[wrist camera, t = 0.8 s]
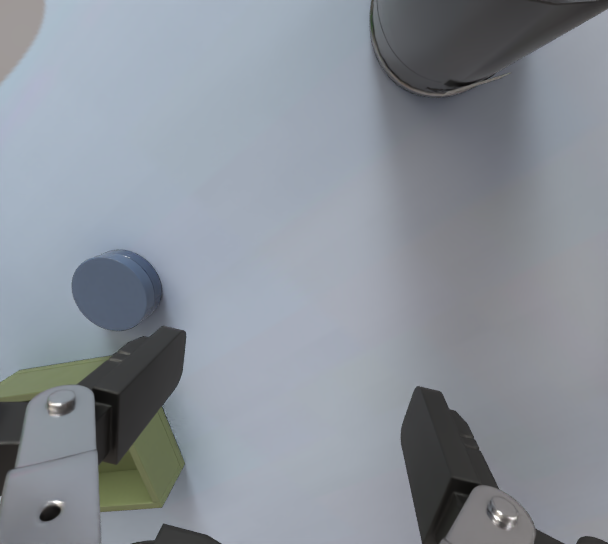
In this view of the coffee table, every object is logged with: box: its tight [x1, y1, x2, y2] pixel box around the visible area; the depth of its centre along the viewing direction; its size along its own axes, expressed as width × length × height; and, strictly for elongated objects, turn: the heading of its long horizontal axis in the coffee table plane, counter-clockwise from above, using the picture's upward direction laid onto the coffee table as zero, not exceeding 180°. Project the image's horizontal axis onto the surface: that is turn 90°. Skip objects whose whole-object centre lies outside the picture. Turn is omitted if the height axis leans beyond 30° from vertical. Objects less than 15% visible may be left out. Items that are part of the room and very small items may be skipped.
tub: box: [0, 355, 185, 512], centre depth 33 cm, size 13×13×5 cm
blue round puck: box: [72, 250, 162, 331], centre depth 29 cm, size 6×6×2 cm
